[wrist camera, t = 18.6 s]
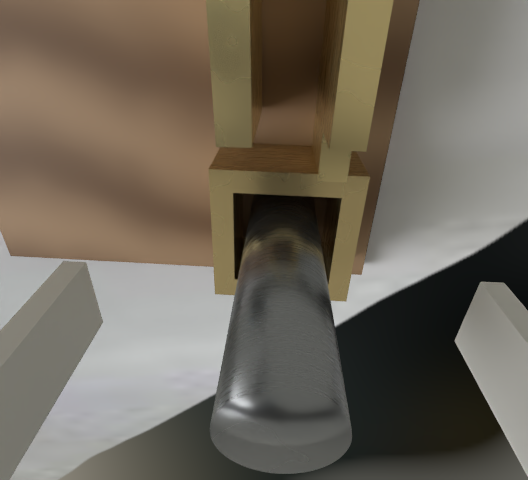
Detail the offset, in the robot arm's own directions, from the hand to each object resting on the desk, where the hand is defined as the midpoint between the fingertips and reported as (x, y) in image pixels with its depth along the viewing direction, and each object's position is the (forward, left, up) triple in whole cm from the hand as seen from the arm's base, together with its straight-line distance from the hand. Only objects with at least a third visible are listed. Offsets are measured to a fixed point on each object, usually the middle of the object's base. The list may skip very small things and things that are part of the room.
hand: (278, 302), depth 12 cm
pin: (0, 0, -8) cm, 8 cm away
